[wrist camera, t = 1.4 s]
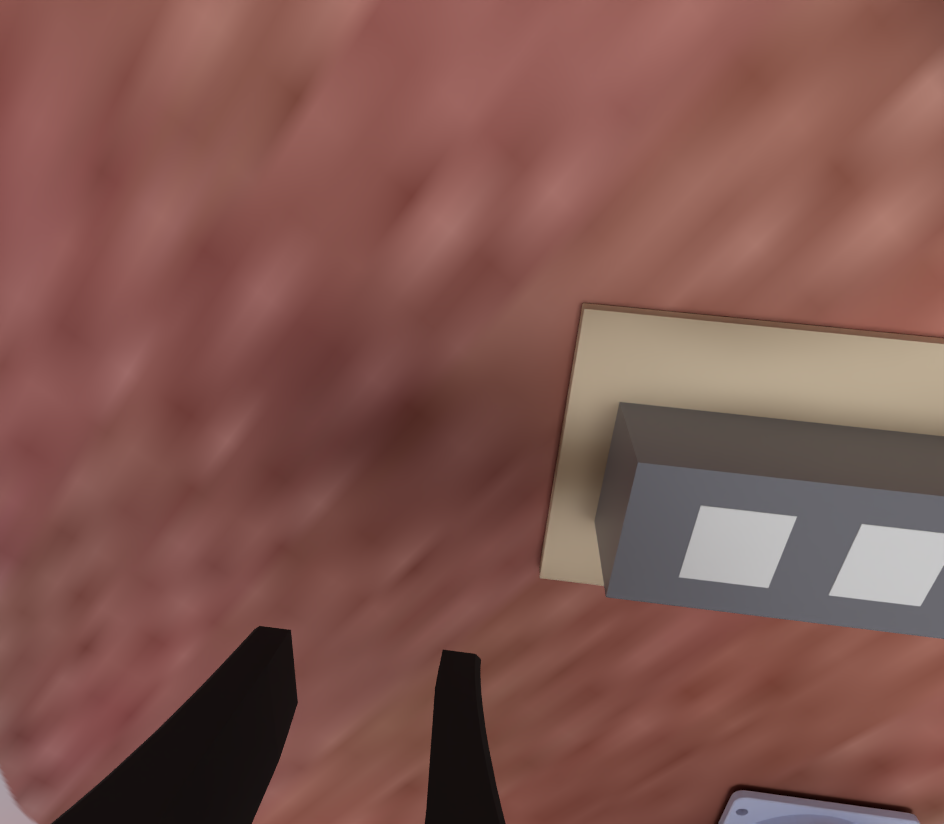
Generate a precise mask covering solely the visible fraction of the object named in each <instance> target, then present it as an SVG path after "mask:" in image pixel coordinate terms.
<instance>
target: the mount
mask: <svg viewBox="0 0 944 824" xmlns="http://www.w3.org/2000/svg"><path fill="white" fill-rule="evenodd" d="M619 402H626V403H635V404H644V405H654V406H663V407H673V408H682V409H691V410H701V411H710V412H720V413H729V414H739V415H748V416H757V417H767V418H776V419H786V420H795V421H804V422H814V423H823V424H833V425H842V426H851V427H861V428H870V429H880V430H889V431H899V432H908V433H917V434H927V435H936V436H944V338H936V337H926V336H916V335H906V334H896V333H885V332H875V331H865V330H855V329H845V328H834V327H824V326H814V325H804V324H793V323H783V322H773V321H763V320H753V319H742V318H732V317H722V316H712V315H702V314H691V313H681V312H671V311H661V310H651V309H640V308H630V307H620V306H610V305H599V304H589V303H583V304H582V310H581V317H580V323H579V329H578V335H577V341H576V347H575V353H574V359H573V365H572V372H571V378H570V384H569V390H568V396H567V402H566V408H565V414H564V420H563V427H562V433H561V439H560V445H559V451H558V457H557V463H556V469H555V475H554V481H553V488H552V494H551V500H550V506H549V512H548V518H547V524H546V530H545V536H544V543H543V549H542V555H541V561H540V578H544V579H552V580H560V581H568V582H577V583H585V584H593V585H601V586H604V581H603V575H602V568H601V561H600V555H599V548H598V542H597V535H596V529H595V522H594V521H595V516H596V512H597V507H598V502H599V497H600V492H601V488H602V483H603V478H604V473H605V469H606V464H607V459H608V454H609V450H610V445H611V440H612V435H613V430H614V426H615V421H616V416H617V411H618V407H619Z"/></svg>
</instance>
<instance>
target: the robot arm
mask: <svg viewBox="0 0 944 824" xmlns="http://www.w3.org/2000/svg"><path fill="white" fill-rule="evenodd" d="M480 665H481V659H480V658H479V657H478V656H477V655H476V654H472V653H464V652H456V651H448V650H443V651H442V656H441V661H440V666H439V671H438V676H437V681H436V686H435V697H434V711H433V725H432V739H431V753H430V767H429V781H428V795H427V809H426V818H425V824H505V820H504V816H503V812H502V808H501V804H500V799H499V795H498V791H497V786H496V782H495V777H494V772H493V767H492V762H491V757H490V752H489V747H488V741H487V735H486V728H485V721H484V714H483V706H482V696H481V678H480ZM297 703H298V701H297V690H296V680H295V669H294V658H293V648H292V637H291V630H287V629H279V628H271V627H263V626H259V627H257V628H256V629H254V630H253V631H252V633H251V634H250V635H249V636H248V637H247V638H246V639H245V640H244V641H243V642H242V643H241V645H240V646H239V647H238V648H237V649H236V650H235V651H234V652H233V653H232V654H231V655H230V656H229V658H228V659H227V660H226V661H225V662H224V663H223V664H222V665H221V666H220V667H219V668H218V669H217V670H216V671H215V672H214V673H213V674H212V675H211V677H210V678H209V679H208V680H207V681H206V682H205V683H204V684H203V685H202V686H201V687H200V688H199V689H198V690H197V691H196V692H195V693H194V694H193V695H192V696H191V697H190V698H189V699H188V700H187V701H186V702H185V703H184V704H183V705H182V706H181V707H180V708H179V709H178V710H177V711H176V712H175V713H174V714H173V715H172V716H171V717H170V718H169V719H168V720H167V721H166V722H165V723H164V724H163V725H162V726H161V727H160V728H159V729H158V730H157V731H156V732H155V733H153V734H152V735H151V736H150V737H149V738H148V739H147V740H146V741H145V742H144V743H143V744H142V745H141V746H139V747H138V748H137V749H136V750H135V751H134V752H133V753H132V754H131V755H130V756H129V757H127V758H126V759H125V760H124V761H123V762H122V763H121V764H120V765H119V766H118V767H117V768H116V769H114V770H113V771H112V772H111V773H110V774H109V775H108V776H107V777H106V778H104V779H103V780H102V781H101V782H100V783H99V784H98V785H96V786H95V787H94V788H93V789H92V790H91V791H90V792H88V793H87V794H86V795H85V796H84V797H83V798H81V799H80V800H79V801H78V802H77V803H75V804H74V805H73V806H72V807H71V808H70V809H68V810H67V811H66V812H65V813H63V814H62V815H61V816H60V817H59V818H57V819H56V820H55V821H54V822H52V823H51V824H252V822H253V819H254V817H255V815H256V812H257V810H258V808H259V806H260V803H261V801H262V799H263V796H264V794H265V792H266V790H267V787H268V785H269V783H270V780H271V778H272V776H273V773H274V771H275V769H276V766H277V764H278V762H279V759H280V756H281V753H282V750H283V747H284V744H285V741H286V738H287V735H288V732H289V729H290V725H291V722H292V719H293V716H294V713H295V709H296V706H297ZM718 824H920V823H919V821H918V819H917V817H916V816H915V815H913V814H911V813H906V812H899V811H892V810H885V809H877V808H870V807H863V806H856V805H848V804H841V803H834V802H827V801H820V800H812V799H805V798H798V797H791V796H783V795H776V794H769V793H762V792H755V791H747V790H739V791H736V792H734V793H733V794H732V795H731V797H730V799H729V801H728V804H727V806H726V808H725V810H724V812H723V814H722V816H721V819H720V821H719V823H718Z"/></svg>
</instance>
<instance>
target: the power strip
mask: <svg viewBox="0 0 944 824" xmlns="http://www.w3.org/2000/svg"><path fill="white" fill-rule="evenodd" d="M594 522H595V529H596V535H597V542H598V548H599V555H600V561H601V568H602V575H603V581H604V588H605V594H606V597H609V598H617V599H625V600H633V601H641V602H649V603H657V604H666V605H674V606H682V607H690V608H698V609H706V610H714V611H722V612H730V613H738V614H747V615H755V616H763V617H771V618H779V619H787V620H795V621H803V622H811V623H820V624H828V625H836V626H844V627H852V628H860V629H868V630H876V631H884V632H893V633H901V634H909V635H917V636H925V637H933V638H941V639H944V436H936V435H927V434H917V433H908V432H899V431H889V430H880V429H870V428H861V427H851V426H842V425H833V424H823V423H814V422H804V421H795V420H786V419H776V418H767V417H757V416H748V415H739V414H729V413H720V412H710V411H701V410H691V409H682V408H673V407H663V406H654V405H644V404H635V403H626V402H619V407H618V411H617V416H616V421H615V426H614V430H613V435H612V440H611V445H610V450H609V454H608V459H607V464H606V469H605V473H604V478H603V483H602V488H601V492H600V497H599V502H598V507H597V512H596V516H595V521H594Z"/></svg>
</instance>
